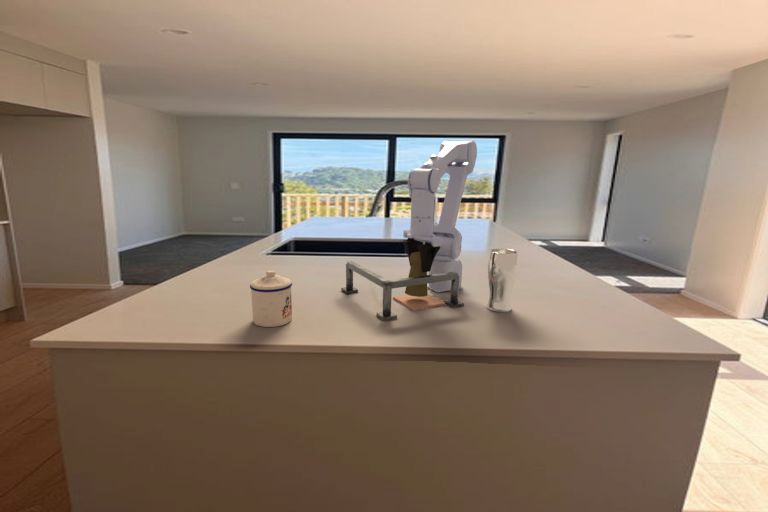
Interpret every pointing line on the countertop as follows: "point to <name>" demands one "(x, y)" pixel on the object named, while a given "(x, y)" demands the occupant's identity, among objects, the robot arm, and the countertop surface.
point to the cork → (414, 272)
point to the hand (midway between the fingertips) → (420, 268)
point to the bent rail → (398, 283)
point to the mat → (418, 301)
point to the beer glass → (501, 278)
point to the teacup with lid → (271, 300)
